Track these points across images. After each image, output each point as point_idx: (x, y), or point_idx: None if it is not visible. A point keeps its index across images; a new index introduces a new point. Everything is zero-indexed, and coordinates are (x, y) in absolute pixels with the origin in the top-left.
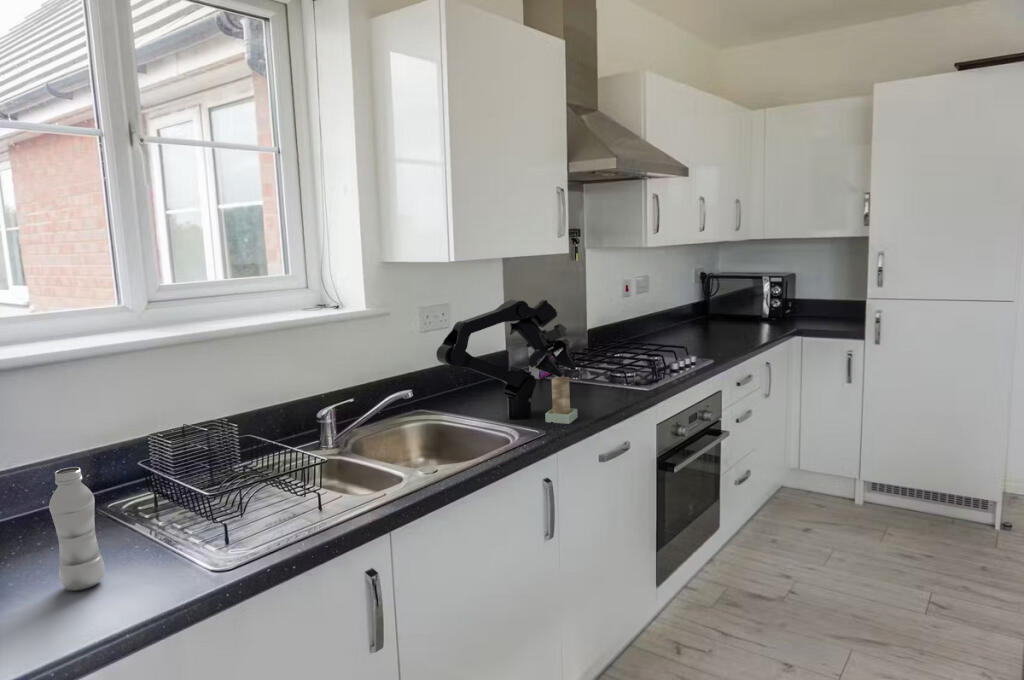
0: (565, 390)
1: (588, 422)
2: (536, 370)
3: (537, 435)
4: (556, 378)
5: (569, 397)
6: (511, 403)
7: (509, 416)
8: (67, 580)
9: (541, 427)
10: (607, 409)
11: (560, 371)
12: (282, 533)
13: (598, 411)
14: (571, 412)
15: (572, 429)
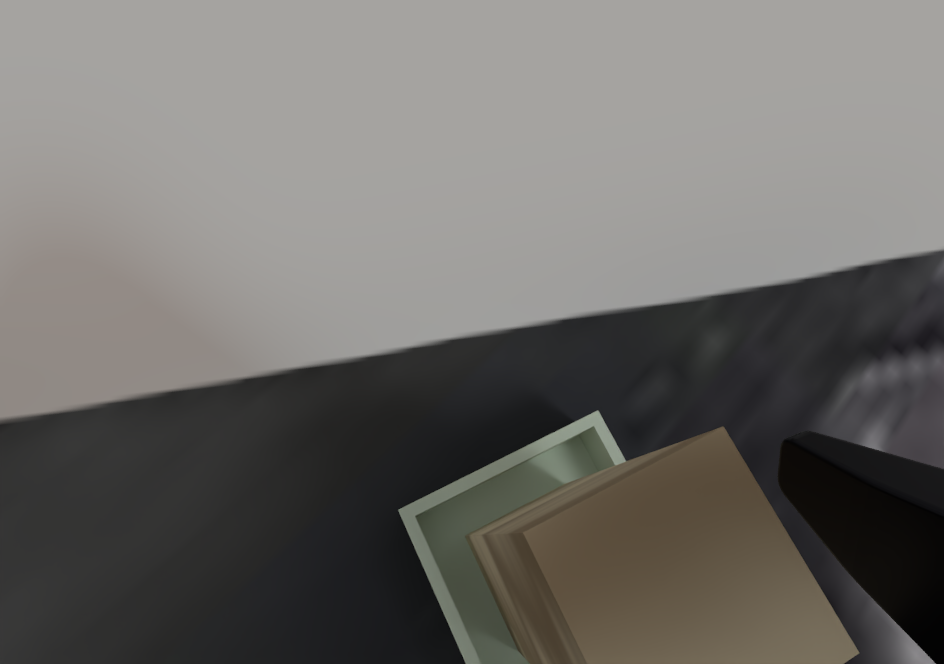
0: (633, 461)
1: (453, 344)
2: None
3: (912, 386)
4: (757, 628)
5: (488, 531)
6: None
7: None
8: None
9: (789, 517)
10: (16, 504)
11: (861, 464)
12: None
13: (125, 518)
14: (525, 457)
15: (654, 309)
